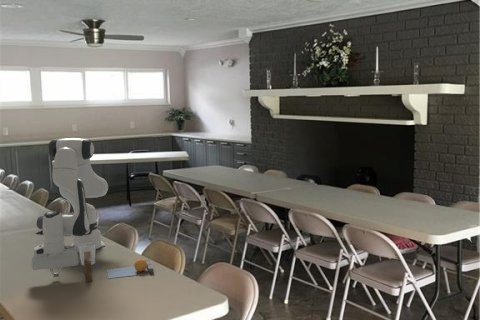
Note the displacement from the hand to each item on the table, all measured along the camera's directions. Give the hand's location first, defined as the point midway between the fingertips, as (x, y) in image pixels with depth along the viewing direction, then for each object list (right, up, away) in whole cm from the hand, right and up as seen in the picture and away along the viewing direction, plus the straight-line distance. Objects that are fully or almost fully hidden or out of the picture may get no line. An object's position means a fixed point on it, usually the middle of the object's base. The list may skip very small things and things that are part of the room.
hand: (56, 276), depth 236 cm
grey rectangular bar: (+40, +1, +12) cm, 42 cm away
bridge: (+13, -1, +4) cm, 14 cm away
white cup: (+8, +1, +23) cm, 24 cm away
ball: (+36, +3, +10) cm, 38 cm away
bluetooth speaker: (-32, +8, +90) cm, 96 cm away
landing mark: (+28, 0, +8) cm, 29 cm away
